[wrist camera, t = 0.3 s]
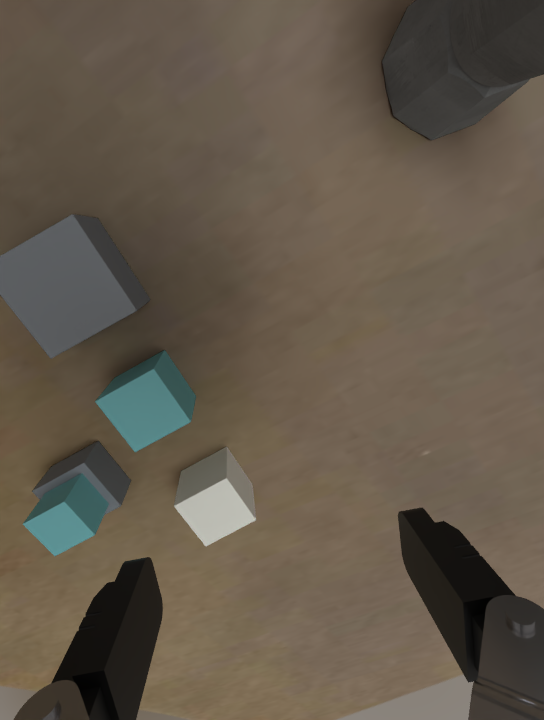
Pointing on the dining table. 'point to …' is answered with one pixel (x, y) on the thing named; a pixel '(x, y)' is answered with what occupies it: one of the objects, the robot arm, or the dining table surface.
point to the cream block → (215, 497)
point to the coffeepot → (461, 60)
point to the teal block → (148, 401)
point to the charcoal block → (69, 283)
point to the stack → (76, 498)
